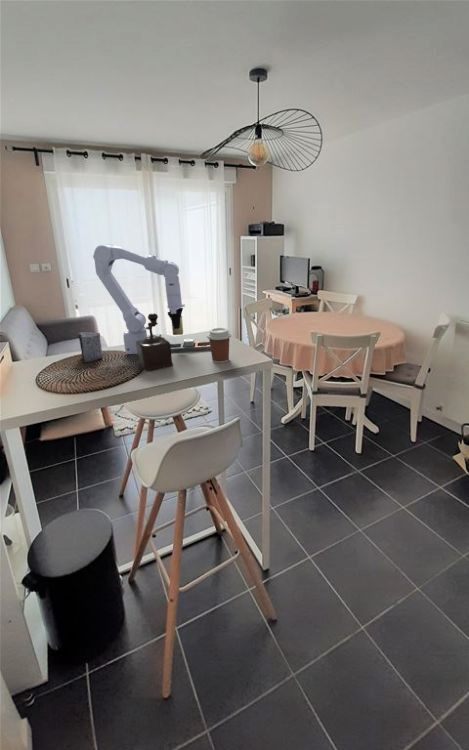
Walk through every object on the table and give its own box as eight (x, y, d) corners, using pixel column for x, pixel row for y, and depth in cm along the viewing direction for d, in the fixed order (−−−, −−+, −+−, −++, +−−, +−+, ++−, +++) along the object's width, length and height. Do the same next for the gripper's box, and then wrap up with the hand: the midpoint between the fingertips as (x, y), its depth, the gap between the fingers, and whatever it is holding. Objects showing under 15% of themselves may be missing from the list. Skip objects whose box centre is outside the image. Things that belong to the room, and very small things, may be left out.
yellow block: (172, 335, 149) (171, 318, 146) (173, 332, 152) (172, 316, 150) (182, 334, 149) (181, 318, 146) (183, 332, 153) (181, 315, 150)
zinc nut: (184, 350, 152) (183, 341, 150) (185, 347, 155) (184, 338, 154) (194, 350, 152) (193, 341, 150) (194, 347, 155) (193, 338, 154)
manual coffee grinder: (175, 365, 135) (169, 318, 128) (146, 372, 130) (139, 323, 123) (161, 354, 148) (155, 311, 141) (134, 360, 143) (127, 315, 136)
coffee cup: (224, 354, 145) (223, 325, 140) (236, 360, 137) (235, 330, 133) (204, 359, 140) (202, 329, 135) (216, 366, 133) (214, 335, 128)
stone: (78, 367, 142) (77, 353, 149) (104, 367, 147) (102, 353, 154) (78, 342, 136) (77, 328, 143) (106, 342, 140) (103, 329, 147)
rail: (165, 352, 150) (164, 348, 149) (167, 347, 156) (166, 343, 156) (212, 350, 151) (212, 346, 150) (212, 344, 157) (212, 341, 157)
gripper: (182, 297, 138) (185, 331, 143) (184, 290, 151) (188, 322, 156) (163, 298, 138) (168, 332, 143) (168, 291, 151) (171, 323, 156)
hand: (177, 327), depth 150 cm, fingers closed on yellow block, 4 cm apart
